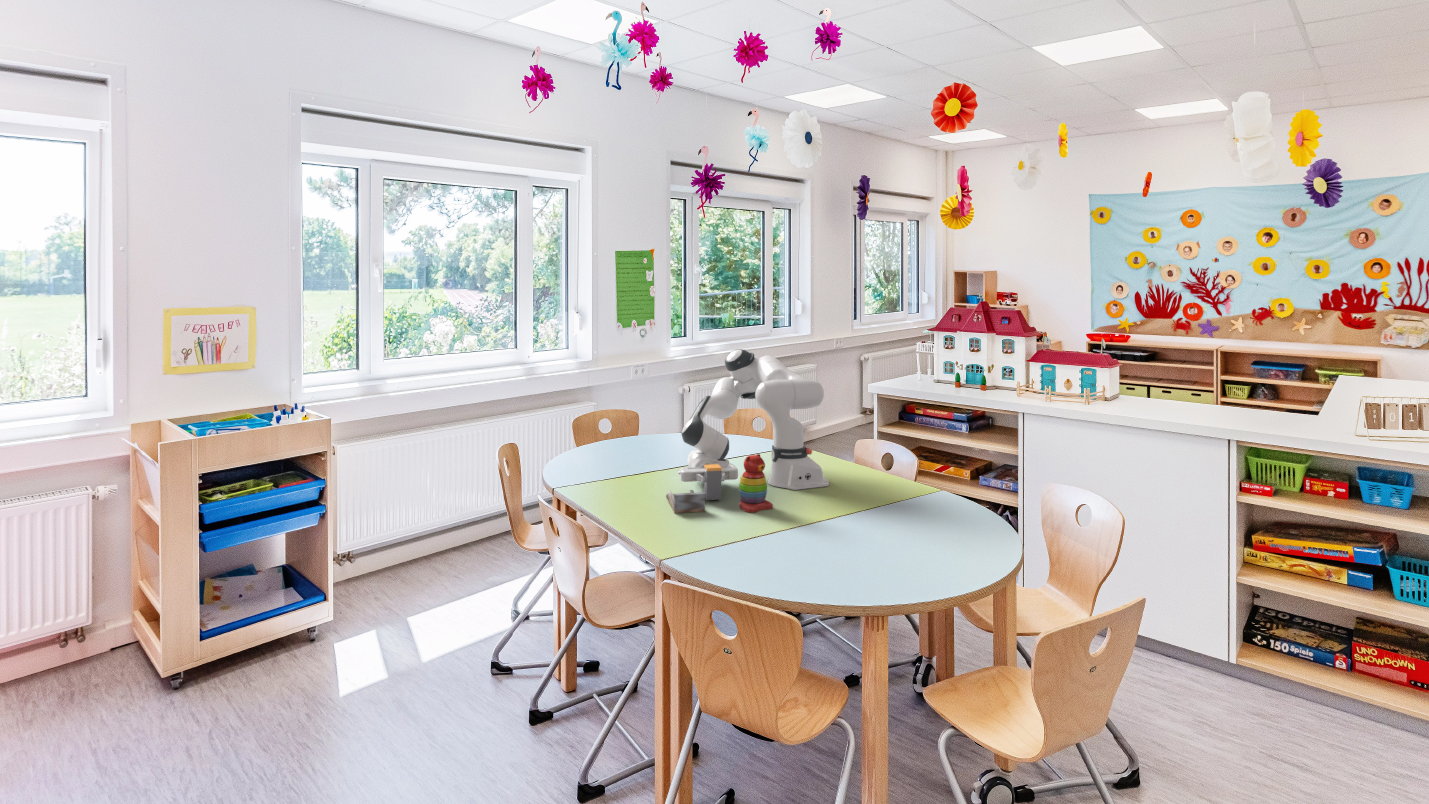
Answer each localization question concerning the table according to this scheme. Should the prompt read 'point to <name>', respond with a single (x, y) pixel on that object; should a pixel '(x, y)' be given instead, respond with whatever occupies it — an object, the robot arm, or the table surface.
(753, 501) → the stacking bear
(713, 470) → the grey tall block
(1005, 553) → the table surface
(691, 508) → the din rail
